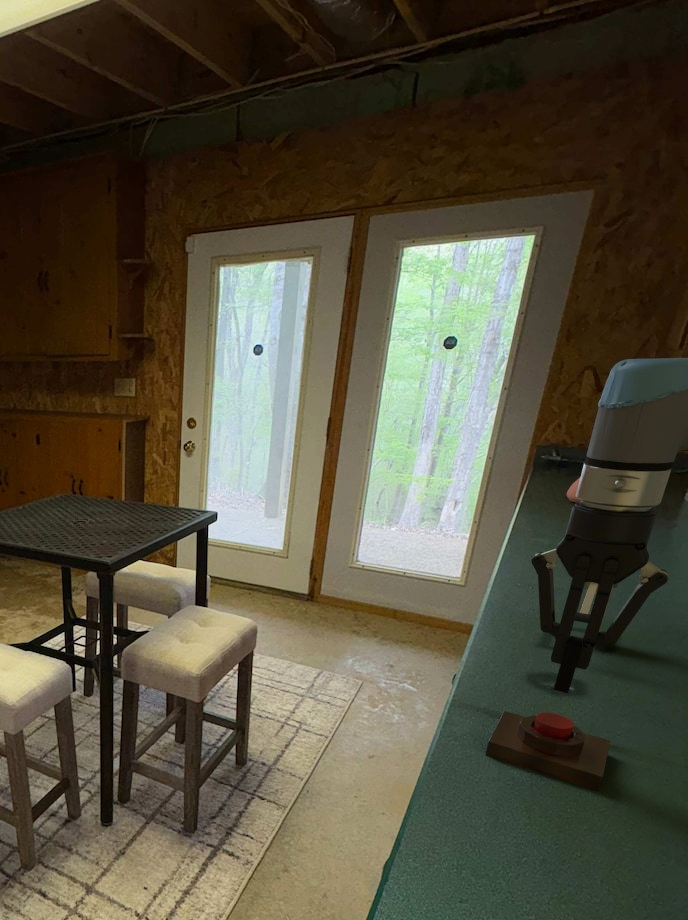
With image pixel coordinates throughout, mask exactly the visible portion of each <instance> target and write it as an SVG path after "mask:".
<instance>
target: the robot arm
mask: <svg viewBox="0 0 688 920" xmlns="http://www.w3.org/2000/svg"><path fill="white" fill-rule="evenodd" d="M597 406H598V410H597V413H596V417H595V421H594V425H593V429H592V433H591V437H590V441H589V445H588V448H587V452H586V457H585V461H584V462H583V466H582V470H581V475H580V477H579V478H580V481H579V485H578V489H577V492H576V497H577V498H578V499H579V500H581V501H580V502H575V504H573V505H572V507H571V512H570V515H569V519H568V522H567V526H566V530H565V534H564V537H563V539H562V540H560V541H559V542H558V544H557V545H556V548H554V549H550V550H548V551H545V552H544V551H537V552H536V553H535V554H534V555H533V557H532V558H531V561H530V562H531V565H532V566H533V569H534V571H535V572H536V574H537V583H538V585H537V587H538V602H539V603H538V604H539V605H538V606H539V626H540V627H539V629H540V630H541V632H543V633H546V634H550V635H551V636H553V637H554V640H555V642H554V645H553V648H552V652H551V656H550V662H551V663H553V664H559V669H558V672H557V676H556V679H555V681H554V682H555V683H554V685H553V686H554V689H552V690H553V691H557V692H561V693H564V694H568V693H569V691H570V690H569V688H570V686H572V682H573V678H574V676H575V672H576V669H581V670H587V669H588V667H589V666H590V663H591V659H592V656H593V653H594V650H595V649H596V647H598V646H608V647H612V646H614V645H616V643H618V641H619V639H620V638H621V636H622V635H623V633H624V632H625V630H626V629H627V628H628V626H629V625H630V624H631V622H632V621H633V620H634V618H635V617H636V615H637V614H638V612H639V611H640V609H641V608H642V607H643V605H644V603H645V602H646V601H647V599H648V598H649V597H650V595H651V594H652V593H653V592H655V591H657V590H658V589H659V588H661V587H662V586H664V585H665V584H667V583H668V580H669V572H668V570H666V569H663V568H659V567H658V566H656V565H655V564H653V563H652V562H651V561H649V559H650V553H649V551H648V545H649V541H650V538H651V536H652V535H651V534H652V532H653V529H654V525H655V522H656V519H657V515H658V512H656V510H655V508H653V507H656V506H659V505H660V504H661V503H662V500H663V497H664V493H665V490H666V487H667V484H668V481H669V479H670V475H671V472H672V468H673V465H674V462H675V460H676V457H677V454H678V452H679V451H681V452H682V451H684V452H688V357H666V358H663V357H662V358H628V359H623V360H621V361H618V362H617V363H615V365H613V366H612V367H611V370H610V371H609V375H608V377H607V379H606V381H605V384H604V388H603V390H602V394H601V397H600V399H599V401H598V404H597ZM557 559H559V561H560V562H561V564H562V565H563V567H564V569H565V571H566V573H567V574H568V576H569V577H571V581H570V584H569V585H570V586H569V590H568V594H567V597H566V601H565V605H564V608H563V612H562V615H561V619H560V622H557V621H556V606H555V584H554V568H556V566H557V564H558V563H557ZM639 570H640V574H639V575H638V577H637V578H638V582H639V583H638V585H636V587H635V589H634V590H633V592H632V593H631V594H630V596H629V597H628V599H627V600H626V602H625V603H624V604H623V606H622V607H621V609H620V610H619V612H618V613H617V615H616V616H615V618H614V619H613V620H612V622H611V624H610V625H609V627H608V628H607V629H606V631H601V630H600V627H601V628H602V626H601V623H602V620H603V616H604V613H605V610H606V611H607V609H606V606H607V603H608V600H609V601H610V599H609V596H610V593H611V594H612V592H611V590H612V591H613V589H612V587H613V585H614V584H617V583H618V584H620V583H622V582H623V581H624V580H626V579H627V578H629V577H631V575H633V574H635V573H636V572H638V571H639ZM586 582H594V583H596V584H599V586H598V590H597V591H596V593H595V596H594V600H593V603H592V606H591V610H590V613H589V614H590V618H589V621H588V623H587V626H586V629H585V632H584V635H583V638H580V637H575V636H571V633H572V631H573V627H574V624H575V622H576V621H575V617H576V614H577V612H578V610H579V607H580V604H581V600H582V597H583V593H584V590H585V585H586ZM613 588H614V587H613ZM610 597H611V596H610ZM608 604H609V603H608ZM607 607H608V606H607ZM605 614H606V613H605ZM604 617H605V616H604ZM603 621H604V620H603ZM602 624H603V623H602ZM599 630H600V632H599ZM594 648H595V649H594Z"/></svg>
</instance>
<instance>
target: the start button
mask: <svg viewBox="0 0 688 920" xmlns="http://www.w3.org/2000/svg"><path fill="white" fill-rule="evenodd" d="M536 715H537V716H536V719H535V723H534V730H535V731H537V732H539V733H541V734H542V735H544V736H548V737H551V738H555V739H565V740H566V739H569V738H570V737H571V734H572V731H573V727H574V726H575V723H574V722H573V721H572V720H571V719H570V718H568V717H566V716H563V715H561V714H558V713H553V712H539V713H537V714H536Z"/></svg>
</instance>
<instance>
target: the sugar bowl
mask: <svg viewBox="0 0 688 920" xmlns="http://www.w3.org/2000/svg"><path fill="white" fill-rule="evenodd" d="M579 481H580V477H578V478H577V479H576V480H575V481H574V482H573V483H572V484H571V485H570V487H569V488H568V489H567V492H566V497H567V499H568V500H569V501H570V502H573V503H577V502H580V501H581V500H579V499H578V498H577V497H576V492H577V489H578V485H579Z"/></svg>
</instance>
